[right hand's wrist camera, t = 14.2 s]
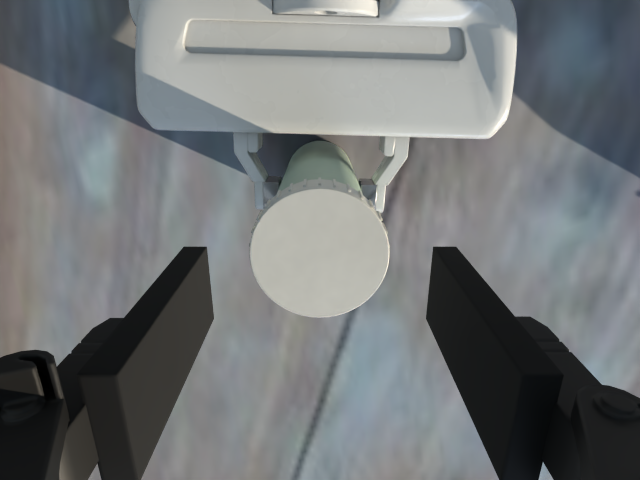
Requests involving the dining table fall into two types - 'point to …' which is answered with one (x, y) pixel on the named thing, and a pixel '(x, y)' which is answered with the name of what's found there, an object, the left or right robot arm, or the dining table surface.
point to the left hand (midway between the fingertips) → (320, 208)
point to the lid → (319, 248)
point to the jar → (319, 165)
